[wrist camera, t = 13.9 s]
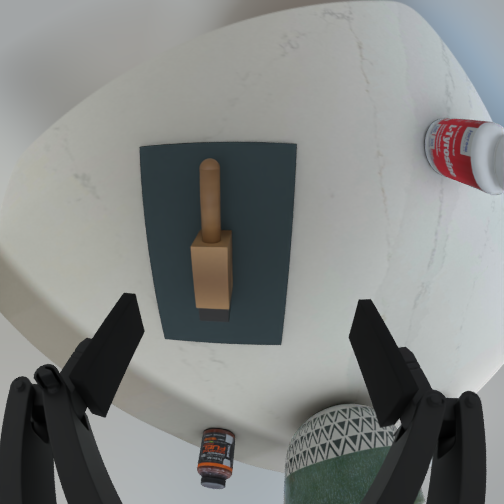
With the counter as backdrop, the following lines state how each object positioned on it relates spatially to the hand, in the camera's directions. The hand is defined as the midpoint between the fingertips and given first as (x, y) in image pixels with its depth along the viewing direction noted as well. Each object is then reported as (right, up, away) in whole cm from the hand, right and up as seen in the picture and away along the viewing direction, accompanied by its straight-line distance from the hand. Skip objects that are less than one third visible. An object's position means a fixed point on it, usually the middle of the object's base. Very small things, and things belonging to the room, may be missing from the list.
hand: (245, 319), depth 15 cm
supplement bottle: (-6, -30, +27) cm, 41 cm away
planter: (+14, -24, +24) cm, 37 cm away
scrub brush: (-3, +5, +11) cm, 13 cm away
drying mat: (-3, +3, +12) cm, 13 cm away
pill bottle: (+20, +15, +7) cm, 26 cm away
